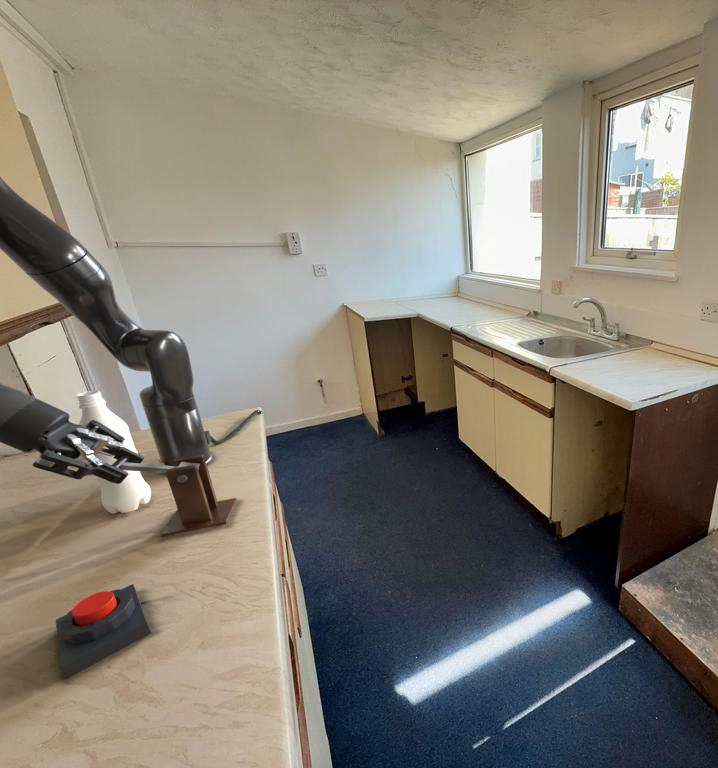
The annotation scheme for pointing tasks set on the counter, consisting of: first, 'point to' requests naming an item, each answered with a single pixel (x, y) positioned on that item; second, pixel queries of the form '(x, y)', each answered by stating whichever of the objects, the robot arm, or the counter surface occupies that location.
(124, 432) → the water bottle
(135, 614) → the control block
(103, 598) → the button
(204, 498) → the bracket
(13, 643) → the counter surface
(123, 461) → the lever
